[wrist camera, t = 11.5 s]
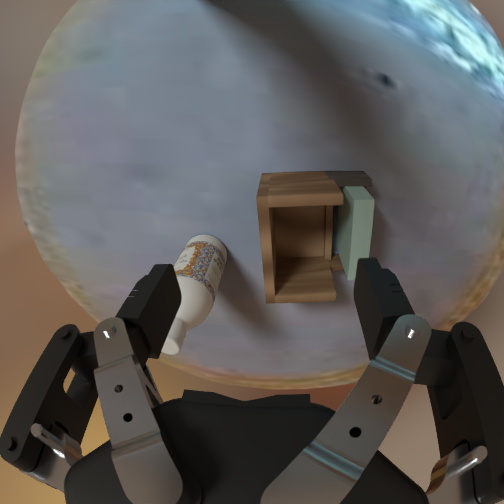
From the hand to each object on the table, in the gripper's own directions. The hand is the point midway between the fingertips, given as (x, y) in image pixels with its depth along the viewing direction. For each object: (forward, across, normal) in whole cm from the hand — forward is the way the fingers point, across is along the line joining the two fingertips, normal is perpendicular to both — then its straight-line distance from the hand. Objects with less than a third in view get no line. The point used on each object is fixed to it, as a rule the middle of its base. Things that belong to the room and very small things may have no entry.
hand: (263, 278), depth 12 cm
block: (+28, -10, +9) cm, 31 cm away
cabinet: (+28, -5, +10) cm, 30 cm away
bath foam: (+28, +12, +15) cm, 34 cm away
